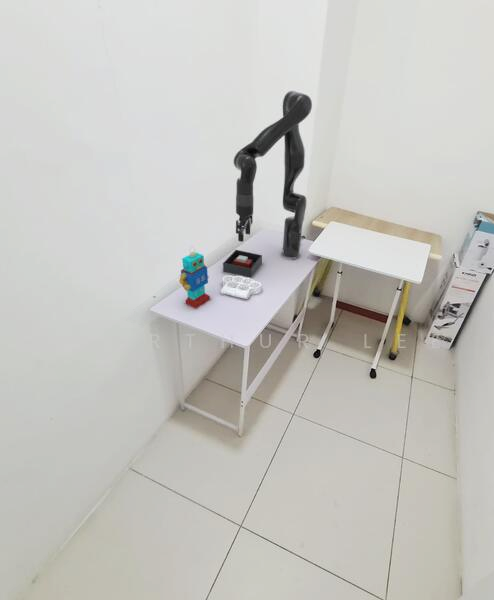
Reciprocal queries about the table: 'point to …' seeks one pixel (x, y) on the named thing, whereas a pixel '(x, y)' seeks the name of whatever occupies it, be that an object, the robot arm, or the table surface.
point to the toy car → (243, 261)
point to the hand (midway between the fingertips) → (244, 237)
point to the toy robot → (194, 279)
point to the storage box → (243, 271)
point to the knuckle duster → (240, 286)
